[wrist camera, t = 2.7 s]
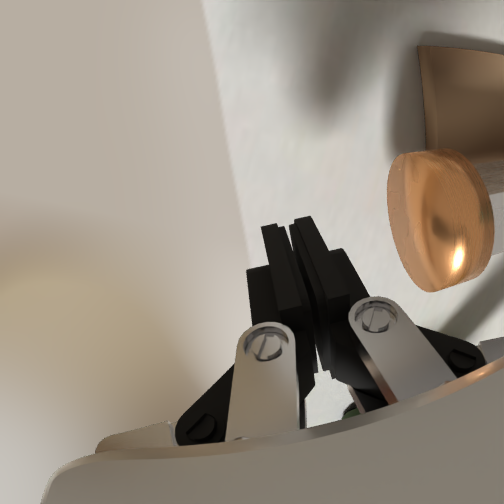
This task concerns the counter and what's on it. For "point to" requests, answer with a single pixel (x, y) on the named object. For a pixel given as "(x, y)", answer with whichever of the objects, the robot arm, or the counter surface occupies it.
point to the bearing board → (463, 101)
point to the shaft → (445, 215)
